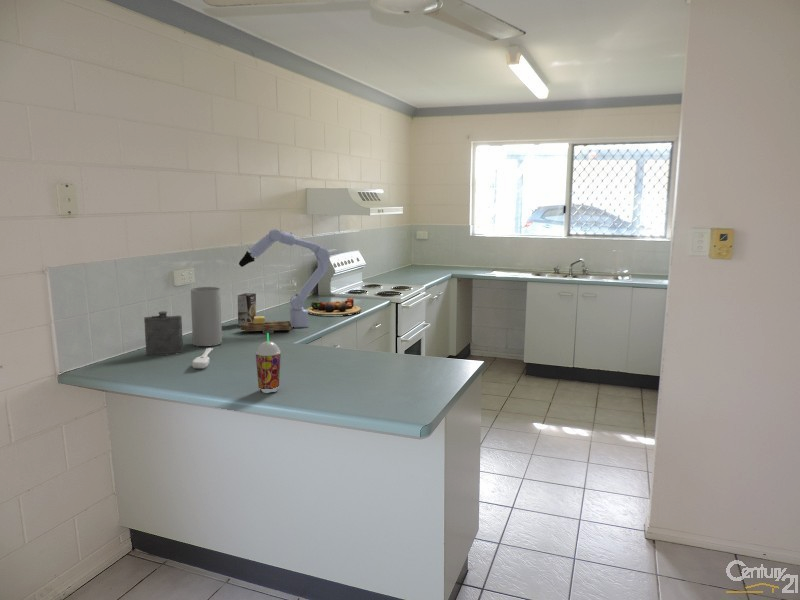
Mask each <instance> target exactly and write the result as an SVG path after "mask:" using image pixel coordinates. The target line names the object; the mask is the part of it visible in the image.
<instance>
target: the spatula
mask: <svg viewBox="0 0 800 600" xmlns="http://www.w3.org/2000/svg"><path fill="white" fill-rule="evenodd" d="M213 350H214V348H213V347H205V350H204V352H203V353H202V354H201V355H200V356H197V357H195V358H194V359H193V360H192V362H191V363H192V364H191V365H192V368H193V369H205V368H207V367H208V366H209V364H210V357H209V356H208V355H209V354H210V353H211V352H212V351H213Z"/></svg>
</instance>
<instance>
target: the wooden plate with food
mask: <svg viewBox="0 0 800 600" xmlns="http://www.w3.org/2000/svg"><path fill="white" fill-rule="evenodd" d="M354 302H355V300H354V298H353V297H349V298H347V299H346V300H341V301H339V300H334V301H328V302H324V301H321V302H319V300H318V299H317V300H314V301H312V302H311V305H310V306H311V307H308V308H307V309H308V312H309V313H312V314H317V315H348V314H354V313H357V314H359V313H360V312H361V311H362V308H361V307H360V306H359V305H358V306H357V305H354ZM312 310H313V311H312ZM358 312H359V313H358ZM354 315H355V314H354Z"/></svg>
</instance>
